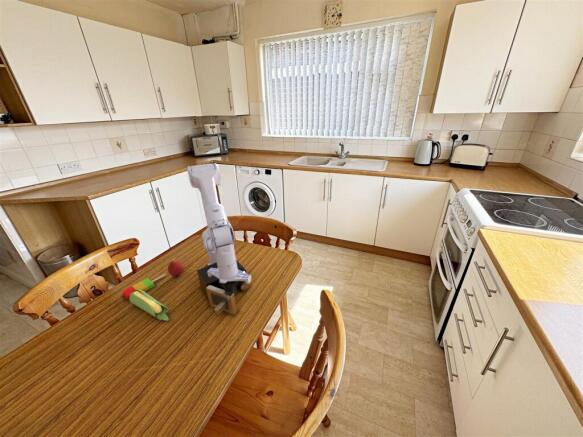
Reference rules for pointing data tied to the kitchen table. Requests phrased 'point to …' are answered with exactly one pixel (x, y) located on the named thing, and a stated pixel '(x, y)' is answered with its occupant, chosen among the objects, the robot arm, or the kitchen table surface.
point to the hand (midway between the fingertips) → (232, 295)
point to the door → (221, 300)
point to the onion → (175, 268)
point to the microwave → (214, 281)
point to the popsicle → (141, 286)
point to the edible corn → (148, 304)
